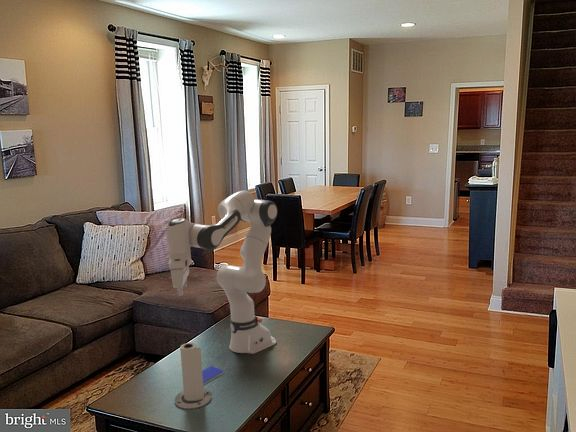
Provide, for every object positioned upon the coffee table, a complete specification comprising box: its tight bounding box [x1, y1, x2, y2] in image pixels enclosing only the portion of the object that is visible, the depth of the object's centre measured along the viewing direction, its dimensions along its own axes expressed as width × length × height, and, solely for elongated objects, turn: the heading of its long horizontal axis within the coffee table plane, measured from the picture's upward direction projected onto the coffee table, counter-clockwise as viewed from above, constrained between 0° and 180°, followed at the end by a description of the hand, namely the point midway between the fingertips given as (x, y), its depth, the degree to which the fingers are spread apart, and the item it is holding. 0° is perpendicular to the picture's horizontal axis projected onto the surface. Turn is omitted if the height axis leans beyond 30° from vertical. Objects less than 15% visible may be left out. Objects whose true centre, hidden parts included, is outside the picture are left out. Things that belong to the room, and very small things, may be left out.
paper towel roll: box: [179, 342, 205, 401], centre depth 191 cm, size 7×6×21 cm
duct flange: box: [174, 388, 213, 410], centre depth 194 cm, size 14×14×1 cm
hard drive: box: [202, 365, 225, 386], centre depth 212 cm, size 2×8×12 cm
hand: (182, 291), depth 207 cm, fingers open, 8 cm apart
